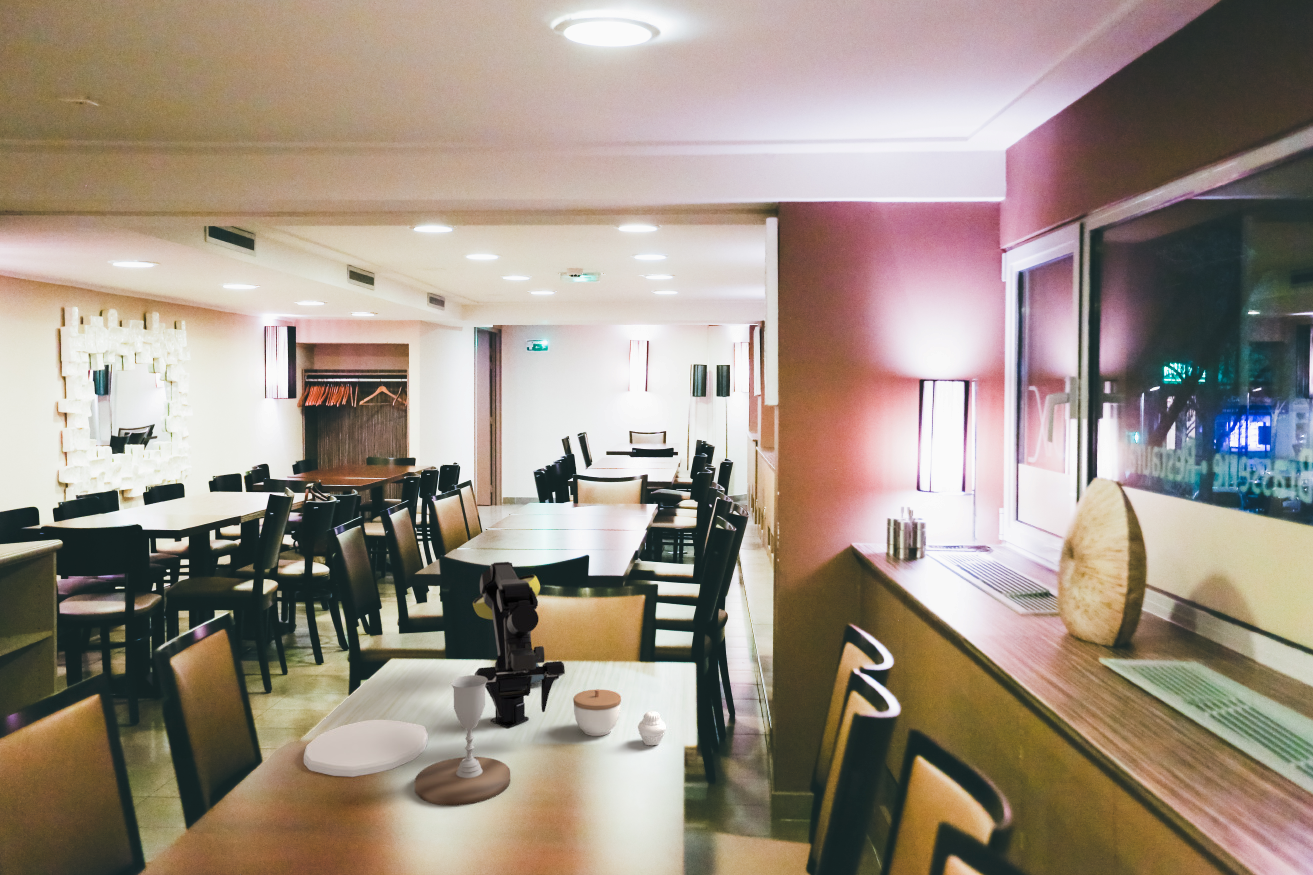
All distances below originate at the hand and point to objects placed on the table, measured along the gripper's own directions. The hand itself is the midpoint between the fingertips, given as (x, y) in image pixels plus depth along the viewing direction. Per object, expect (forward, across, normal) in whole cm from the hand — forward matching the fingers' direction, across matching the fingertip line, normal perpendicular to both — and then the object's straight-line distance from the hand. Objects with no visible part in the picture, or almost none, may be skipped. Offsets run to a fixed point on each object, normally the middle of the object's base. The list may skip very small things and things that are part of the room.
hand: (522, 714), depth 178 cm
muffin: (+9, +28, -2) cm, 29 cm away
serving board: (+12, -14, -9) cm, 20 cm away
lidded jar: (+5, +18, +8) cm, 20 cm away
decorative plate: (+4, -32, +13) cm, 34 cm away
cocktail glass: (-12, +12, +42) cm, 45 cm away
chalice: (+10, -12, -8) cm, 18 cm away
